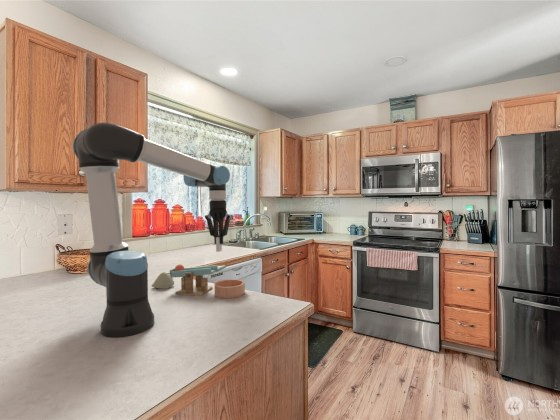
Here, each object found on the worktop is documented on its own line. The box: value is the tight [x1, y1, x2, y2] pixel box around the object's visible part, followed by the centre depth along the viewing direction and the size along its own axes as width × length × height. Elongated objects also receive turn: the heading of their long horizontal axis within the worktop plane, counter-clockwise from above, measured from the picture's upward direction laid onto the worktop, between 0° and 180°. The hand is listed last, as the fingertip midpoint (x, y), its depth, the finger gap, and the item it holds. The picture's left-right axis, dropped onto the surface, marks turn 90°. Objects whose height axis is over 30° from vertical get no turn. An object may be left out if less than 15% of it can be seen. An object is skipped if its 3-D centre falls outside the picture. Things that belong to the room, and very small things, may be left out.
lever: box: [169, 264, 227, 279], centre depth 134 cm, size 14×20×3 cm
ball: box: [174, 263, 185, 271], centre depth 132 cm, size 4×4×4 cm
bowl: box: [213, 278, 246, 299], centre depth 126 cm, size 13×13×4 cm
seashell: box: [151, 271, 175, 289], centre depth 138 cm, size 8×8×8 cm
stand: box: [175, 272, 214, 297], centre depth 130 cm, size 11×12×9 cm
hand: (219, 251), depth 135 cm, fingers closed
